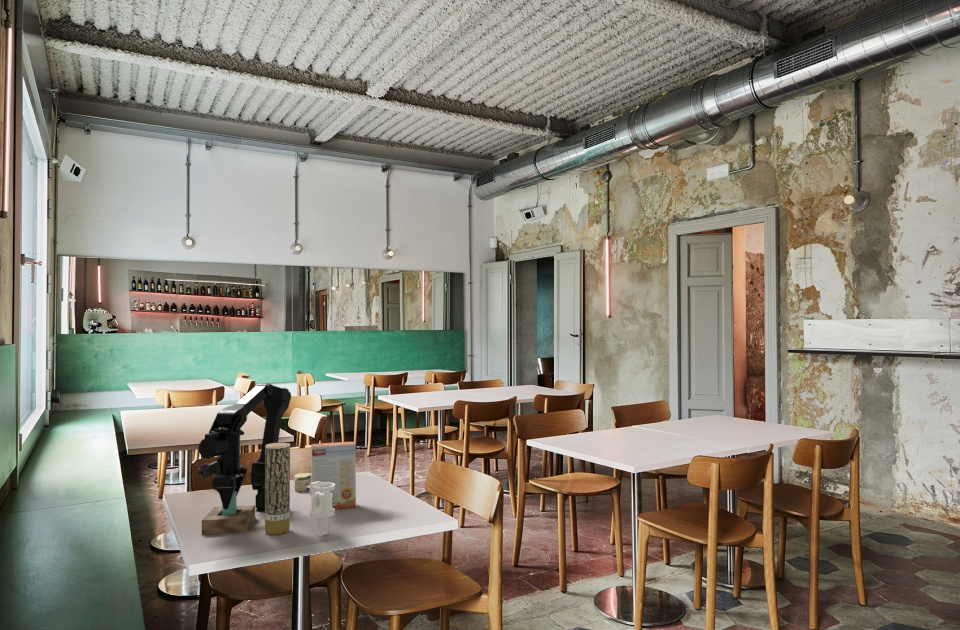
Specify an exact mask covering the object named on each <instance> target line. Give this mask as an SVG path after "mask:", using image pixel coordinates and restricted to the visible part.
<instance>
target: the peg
mask: <svg viewBox="0 0 960 630" xmlns="http://www.w3.org/2000/svg"><path fill="white" fill-rule="evenodd" d="M237 498H238V495H237V491H234V493H233V496H232V499H231V502H230V504H229V507H228V509H224V508H223V505H222V504H221V507H222V516H224V515H236V506H237Z"/></svg>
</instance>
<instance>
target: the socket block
mask: <svg viewBox="0 0 960 630" xmlns="http://www.w3.org/2000/svg"><path fill="white" fill-rule="evenodd" d="M255 519H256V504H255V505H253V504H252V505H236V515H224V516H222V506H214V507H213V508H211V510H210V511H209V512H208V513H207V514H206V515H205V516H204V518H202V519H201V535H215V534H216V535H217V534H218V535H219V534H220V535H221V534H240V533H247V531H248V529H249V528H250V526H251V525H252V524H253V522H254V521H255Z"/></svg>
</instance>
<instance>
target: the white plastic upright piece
mask: <svg viewBox="0 0 960 630" xmlns="http://www.w3.org/2000/svg"><path fill="white" fill-rule="evenodd" d="M322 486H328V487H324V488H320V487H322ZM334 489H335V484H334V483H330V482H320V481H316V482H312V483H310V485H309V496H312V500H311V509H309V517H310V518H313V519H315V518H316V536H326V535H328V534H329V531H328V530H329V528H328V527H329V524H328V523H329V520H328V519H329V518H330V517H332V516H335V515H336V509H334V508H332V493H329V491H331V490H334Z"/></svg>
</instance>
